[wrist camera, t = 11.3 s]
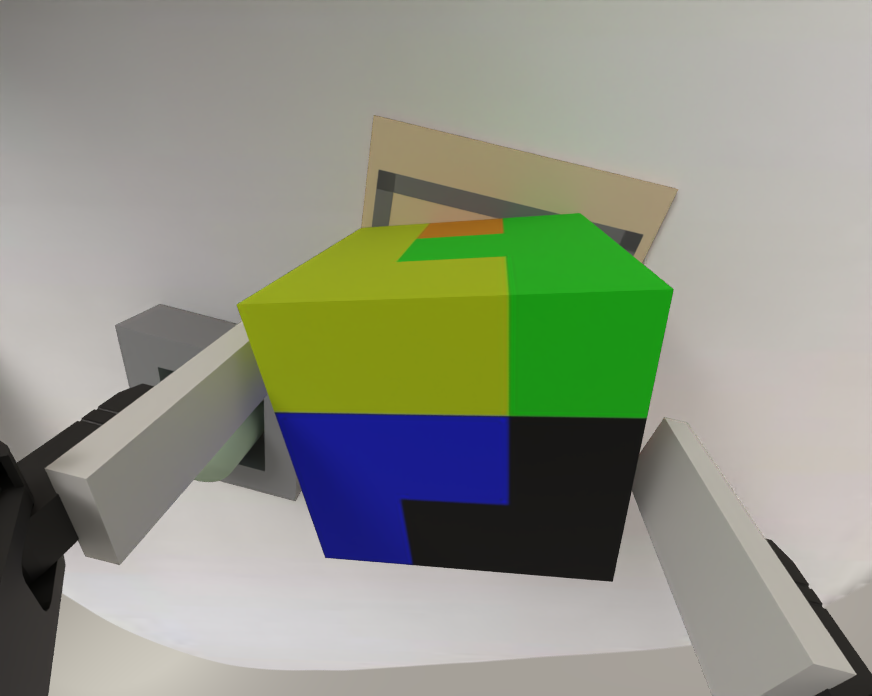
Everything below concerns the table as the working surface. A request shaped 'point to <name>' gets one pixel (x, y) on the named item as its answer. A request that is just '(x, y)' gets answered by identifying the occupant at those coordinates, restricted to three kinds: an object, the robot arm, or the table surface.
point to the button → (234, 447)
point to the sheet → (499, 186)
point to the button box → (170, 349)
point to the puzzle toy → (465, 391)
